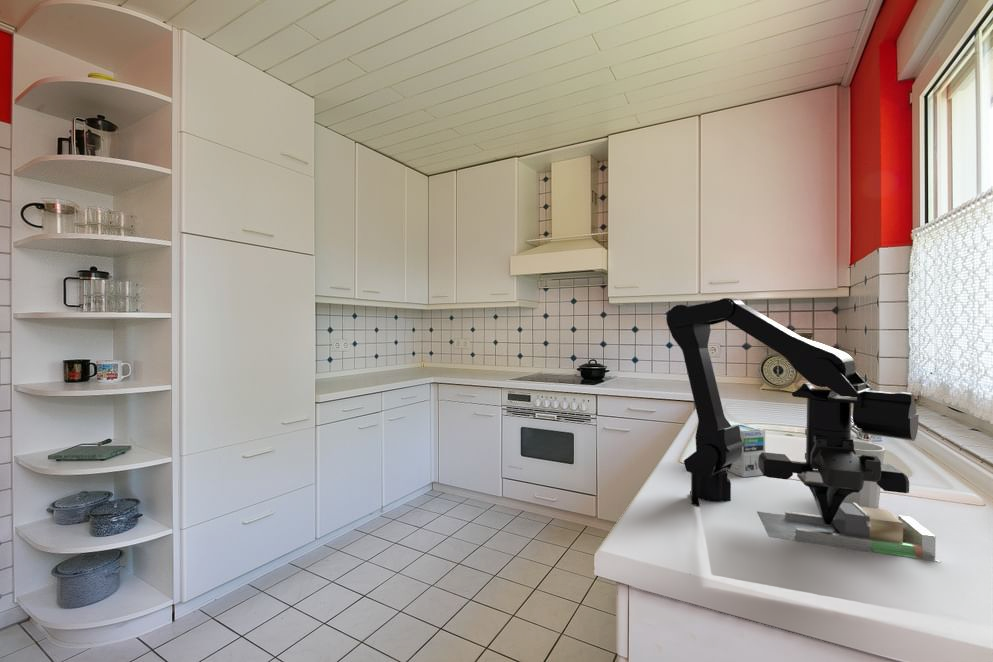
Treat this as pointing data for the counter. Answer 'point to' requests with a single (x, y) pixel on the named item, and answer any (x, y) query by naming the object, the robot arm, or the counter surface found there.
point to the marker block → (884, 525)
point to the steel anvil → (918, 535)
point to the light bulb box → (749, 451)
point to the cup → (870, 489)
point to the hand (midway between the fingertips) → (826, 523)
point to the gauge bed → (833, 535)
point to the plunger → (852, 520)
